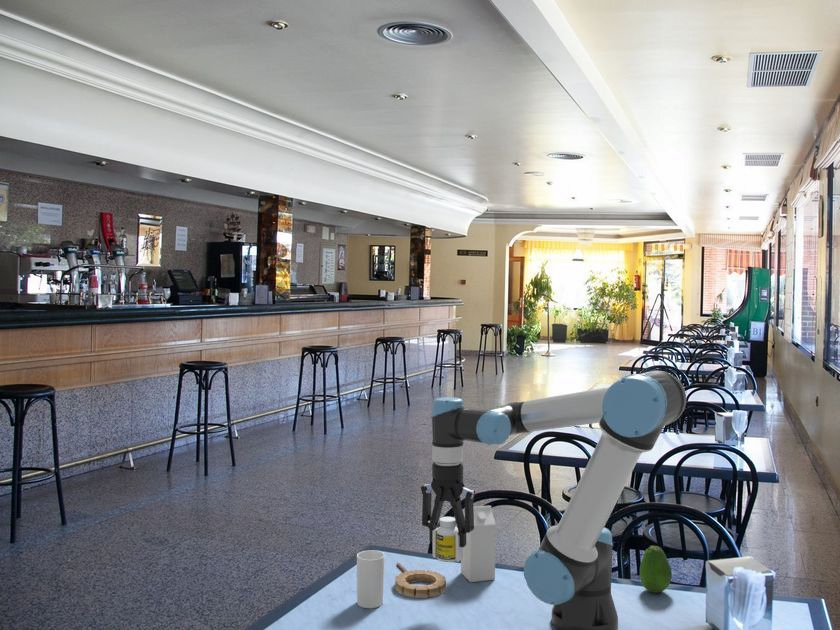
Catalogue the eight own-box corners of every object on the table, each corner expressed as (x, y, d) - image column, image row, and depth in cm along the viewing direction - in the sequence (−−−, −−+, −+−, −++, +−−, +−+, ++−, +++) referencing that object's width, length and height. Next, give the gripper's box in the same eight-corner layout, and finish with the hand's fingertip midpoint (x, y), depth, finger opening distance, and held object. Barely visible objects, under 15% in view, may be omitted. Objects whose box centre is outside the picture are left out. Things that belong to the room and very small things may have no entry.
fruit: (677, 593, 197) (679, 547, 196) (659, 601, 192) (660, 553, 191) (650, 583, 203) (652, 538, 202) (632, 590, 198) (633, 545, 197)
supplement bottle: (432, 560, 184) (432, 520, 184) (442, 553, 189) (442, 514, 189) (453, 564, 182) (453, 523, 181) (462, 557, 186) (462, 517, 186)
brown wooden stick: (412, 577, 204) (412, 575, 204) (410, 578, 204) (410, 576, 204) (399, 564, 214) (399, 562, 214) (396, 565, 213) (396, 563, 213)
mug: (379, 610, 184) (380, 561, 183) (352, 607, 185) (353, 558, 185) (389, 593, 194) (390, 547, 193) (364, 591, 195) (364, 544, 195)
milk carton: (460, 573, 208) (461, 503, 207) (484, 570, 210) (486, 502, 210) (470, 582, 202) (471, 511, 201) (495, 580, 204) (496, 509, 203)
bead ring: (454, 583, 201) (454, 575, 201) (431, 601, 189) (431, 593, 189) (410, 574, 207) (410, 566, 207) (386, 590, 195) (386, 583, 195)
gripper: (489, 463, 184) (489, 558, 184) (420, 455, 192) (421, 547, 193) (476, 469, 177) (476, 569, 178) (406, 461, 185) (406, 556, 186)
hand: (447, 557), depth 185 cm, fingers closed on supplement bottle, 5 cm apart
